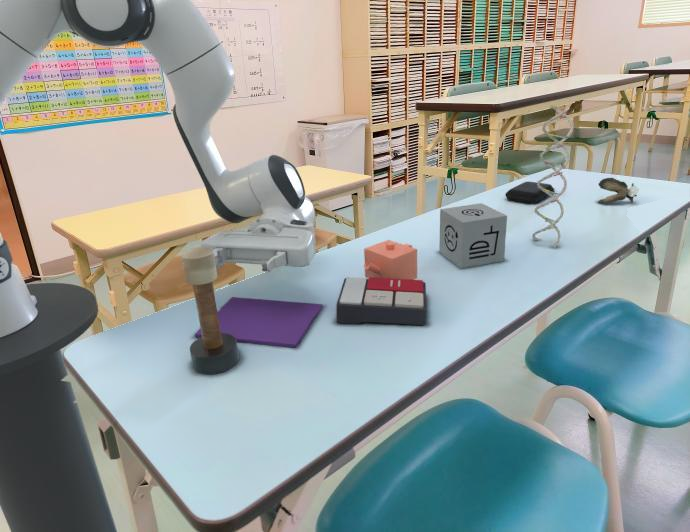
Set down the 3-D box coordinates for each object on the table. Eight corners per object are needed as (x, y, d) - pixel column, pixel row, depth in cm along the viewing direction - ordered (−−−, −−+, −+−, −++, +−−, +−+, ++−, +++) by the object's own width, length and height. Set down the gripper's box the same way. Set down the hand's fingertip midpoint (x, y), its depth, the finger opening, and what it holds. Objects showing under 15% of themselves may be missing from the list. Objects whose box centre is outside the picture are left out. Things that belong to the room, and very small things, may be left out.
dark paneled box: (426, 305, 85) (336, 300, 87) (425, 328, 87) (336, 323, 88) (425, 277, 95) (344, 273, 97) (424, 298, 97) (344, 294, 98)
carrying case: (538, 206, 143) (559, 194, 153) (539, 195, 142) (560, 183, 152) (502, 200, 150) (524, 189, 160) (503, 190, 148) (525, 179, 158)
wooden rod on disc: (184, 371, 78) (161, 260, 71) (207, 347, 84) (188, 242, 77) (226, 377, 76) (207, 263, 69) (246, 351, 82) (231, 244, 75)
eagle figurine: (626, 192, 146) (594, 187, 147) (639, 175, 140) (606, 170, 141) (629, 213, 142) (596, 208, 143) (643, 196, 136) (609, 191, 137)
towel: (195, 337, 87) (194, 334, 87) (232, 299, 99) (232, 296, 99) (296, 347, 82) (295, 344, 82) (322, 307, 95) (322, 304, 94)
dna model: (567, 246, 115) (584, 105, 104) (543, 250, 114) (558, 108, 102) (547, 236, 121) (561, 103, 110) (524, 241, 119) (536, 105, 108)
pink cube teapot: (353, 286, 102) (351, 247, 99) (396, 268, 109) (395, 231, 106) (380, 299, 96) (379, 257, 93) (424, 279, 103) (424, 240, 100)
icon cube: (503, 260, 110) (507, 215, 106) (461, 268, 107) (463, 222, 103) (479, 245, 118) (481, 203, 114) (439, 252, 116) (440, 209, 112)
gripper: (219, 219, 99) (180, 244, 87) (321, 223, 94) (294, 251, 82) (224, 250, 102) (186, 279, 90) (323, 255, 96) (298, 287, 84)
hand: (239, 265), depth 86 cm, fingers open, 8 cm apart
